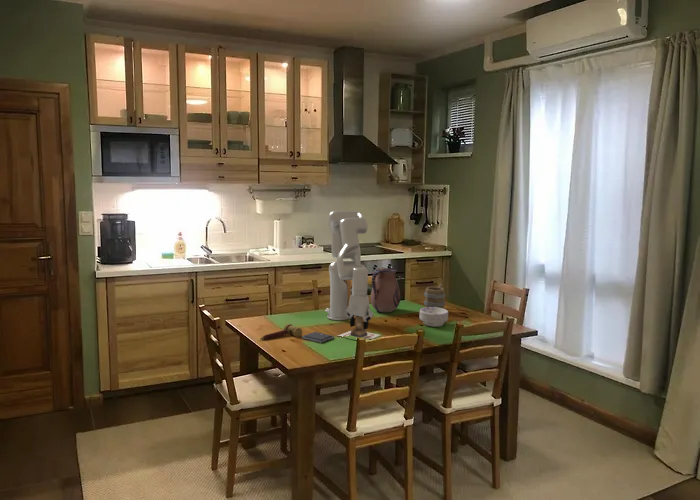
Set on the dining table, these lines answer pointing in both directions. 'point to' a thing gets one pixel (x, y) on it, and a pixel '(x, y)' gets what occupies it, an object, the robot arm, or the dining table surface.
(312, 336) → the ink pad
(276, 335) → the gavel
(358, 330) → the stamp
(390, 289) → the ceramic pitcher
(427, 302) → the tankard
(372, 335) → the paper sheet
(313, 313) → the dining table surface
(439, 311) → the paper bowls
